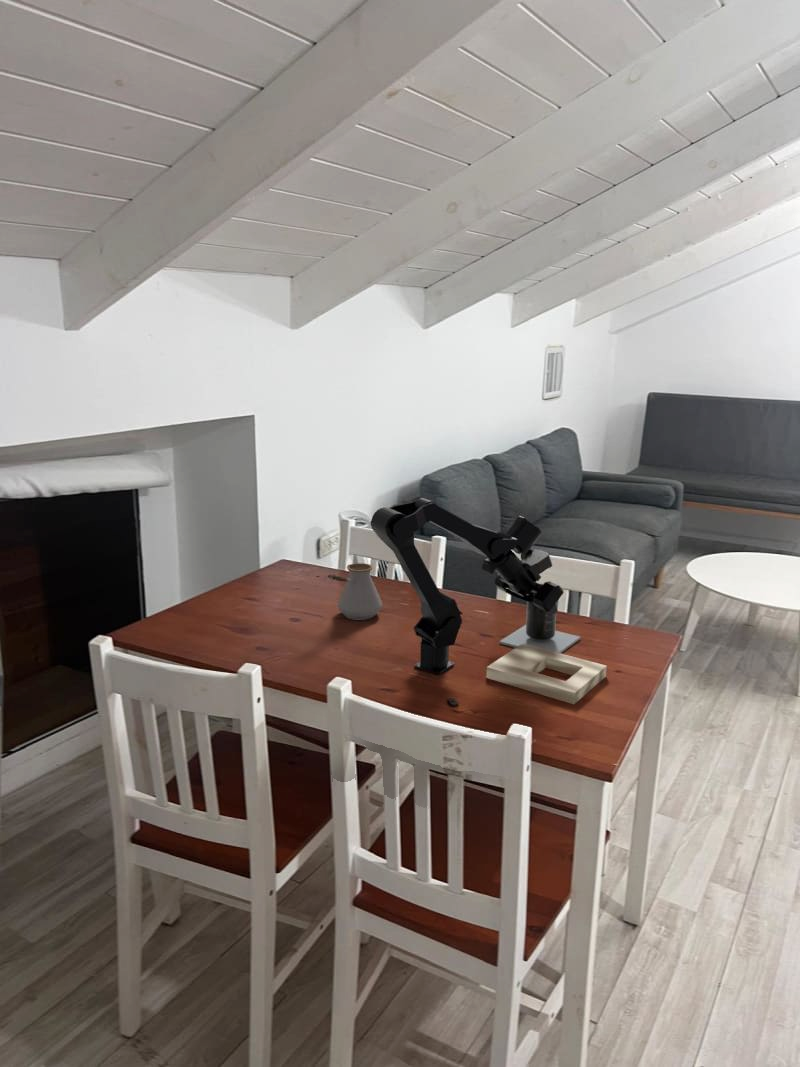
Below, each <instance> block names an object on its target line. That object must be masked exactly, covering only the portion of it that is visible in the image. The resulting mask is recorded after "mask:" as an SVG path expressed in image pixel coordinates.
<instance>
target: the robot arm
mask: <svg viewBox="0 0 800 1067" xmlns="http://www.w3.org/2000/svg"><path fill="white" fill-rule="evenodd" d="M427 523H431V524H434V525H435V526H437V527H439V528H441V529H443V530H445V531H447V532H448V533H450V534H452V535H454V536H456V537H457V538H459V539H460V540H461V541H462V542H463V543H464V544H465V545H466V546H467V547H468V548H470V550H471V551H472V552H475V553H477V554H479V555H482V556H484V557H486V559H483V560H482V564H481V570H482V571H483V572H485V573H487V574H490V575H492V574H494V572H496V573H497V574H498V575H497V576H496V578H495V579H494V586H496V588H497V589H498V590H500V591H502V592H504V593H506V594H507V595H510V596H512V597H514V598H517V599H519V600H523V601H524V602H527V600H528V598H529V597H530V596H532V592H533V593H535V596H534V597H533V604H534V605H535V607H537V608H539V609H541V610H544V611H546V612H550V613H553V614H556V615H557V612H558V607H556V604H555V603H556V602H557V603H558V601H559V600H560V598H561V597H562V596H563V594H564V593H565V592H564V589H563V588H562V587H561V586H560V585H559V584H557V583H554V582H552V581H549V580H548V581H545V582H544V583H538V582H539V580H541V578H542V576H541V574H542V573H543V572H545V571H546V570H548V569H551V568H552V567H553V563H552V560H551V557H550V554H549V553H548V552H547V551H545V550H542V549H535V548H534V549H531V548H532V546H534V545H535V544H536V542H537V541H538V539H539V538H540V537H541V536H542V534H543V533H542V530H541V529H540V527H537V526H536V525H534V524H533V523H532V522H530V521H529V520H528V519H526V517H524V516H521V515H519V516H517V518H515V520H514V523H513V524H512V525H511V526H510V528H509V529H508V530H507V531H506V533H503V532H500V531H495V530H492V529H488V528H487V527H483V526H479V525H477V524H472V523H470V522H468V521H467V520H465V519H463V518H461V517H459V516H458V515H456V514H454V513H452V512H451V511H449V510H447V509H445V508H443V507H441V506H440V505H438V504H437V503H436V502H435V501H433V500H429V499H426V498H423V497H421V498H417V499H414V500H413V501H409V502H405V503H400V504H394V505H393V506H389V507H384V506H383V507H380V508H379V509H377V510H376V511H375V512H374V513H373V515H372V517H371V521H370V527H371V529H372V531H373V532H374V533H375V534H376V536H377V537H378V538H379V539H380V540H381V541H382V542H383V543H384V545H386V546H387V547H388V548H389V549H390V550H391V551H392V552H393V554H394V555H395V558H397V561H398V563H399V564H400V566H401V568H402V570H403V572H404V573H405V576H407V579H408V580H409V582H410V584H411V586H412V587H413V588H412V589H414V591H415V593H416V595H417V596H418V599H419V601H420V612H421V615H422V616H421V618H420V619H419V620H418V622H417V623H416V624H415V626H413V631H414V633H415V636H417V637H419V638H420V639H421V642H420V645H419V646H420V652H419V654H420V657H419V658H420V659H419V661H418V662H417V663H415V664H414V666H413V667H414V668H416V669H419V670H422V671H425V672H428V673H431V674H433V675H434V674H435V675H440V674H442V673H443V672H445V671H447V670H448V669H450V668H451V667H453V666H454V665H455V662H453V661H450V660H449V655H450V653H449V651H450V646H454V645H455V643H456V640H457V636H458V634H459V631H460V628H461V626H462V624H463V618H462V616H461V615H463V611H461V610H460V609H459V606H458V603H457V602H456V599H454V597H453V598H452V597H451V596H449V595H447V594H445V593H443V592H441V591H440V590H439V588H438V586H437V584H436V582H435V580H434V579H433V576H432V575H431V573H430V571H429V570H428V568H427V566H426V564H425V562H424V561H423V559H422V557H421V555H420V553H419V551H418V549H417V547H416V545H415V532H417V531H419V530H420V529H421V528H422V527H424V526H425V525H426V524H427ZM516 554H518V555H520V558H519V557H518V556H517V555H516ZM541 584H543V585H541Z"/></svg>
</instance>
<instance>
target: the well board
mask: <svg viewBox="0 0 800 1067" xmlns="http://www.w3.org/2000/svg"><path fill="white" fill-rule="evenodd" d="M607 666H608V665H605V664H603V663H602V664H601V663H599V662H593V661H590V660H587V659H583V658H579V657H575V656H571V655H567V654H563V653H557V652H553V651H549V650H546V649H542V648H538V647H534V646H531V645H527V644H523V643H522V644H521V645H519V646H518V647H516V648H513V649H512V650H511V651H509V652H507V653H506V654H504V655H503V656H501V657H499V658H498V659H497V660H495V661H493V662H492V663H490V664H489V665H488V666H486V679H489V680H491V681H492V680H493V681H495V682H499V683H501V684H502V683H503V684H505V685H508V686H512V687H515V688H519V689H522V690H526V691H528V692H532V693H535V694H538V695H542V696H545V697H548V698H552V699H555V700H558V701H562V702H565V703H568V704H571V705H575V704H577V703H578V702H579V701H580V700H581V699H582V698H583V697H584V696H585V695H587V694H588V693H589V692H590V691H591V690H592V689H594V687H596V686H597V685H598V684H599V683H601V682H602V680H604V679H605V678H606V677H607ZM545 669H550V670H553V671H556V672H560V673H563V674H567V675H571V676H570V677H569V678H568V679H566V680H562V679H559V678H555V677H551V676H548V675H545V674H542V673H541V672H542V671H543V670H545Z"/></svg>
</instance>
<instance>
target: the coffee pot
mask: <svg viewBox="0 0 800 1067" xmlns="http://www.w3.org/2000/svg"><path fill="white" fill-rule="evenodd" d="M346 568H347V569H346V570H348V573H349V575H348V578H346V577H344V576H341V575H335V574H328V575H326V576H325V577H324V579H323V582H324V583H326V584H331V583H332V582H333V580H335V581H338V582H345V585H344V588H343V589H342V593H341V594H340V597H339V599H338V602H337V608H338V610H339V612H340V613H342V614H343V616H345V617H346V619H350V620H355V621H365V620H370V619H372V618H375V616H376V615H377V614H379V612H381V609H382V607H383V601H382V600H381V597H380V595H379V592H378V591H377V588H376V586H375V583H374V580H373V579H372V577H371V571H372V570H373V565H371V564H369V563H363V562H359V563H357V562H356V563H351V564H347V565H346ZM326 578H329V579H331V581H330V582H327V581H325V580H326Z"/></svg>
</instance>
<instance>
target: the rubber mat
mask: <svg viewBox="0 0 800 1067" xmlns="http://www.w3.org/2000/svg"><path fill="white" fill-rule="evenodd" d="M580 640H581V636H578V635H574V634H572V633H570V634H569V633H566V632H563V631H560V630H559V631H558V630H555V635H554V637H553V638H551V639H547V640H538V639H533V638H531V637H529V636H528V635H527V634H526V624H524V625H523V626H521V627H520V628H518V629H517V630H515V631H514V632H512V633H510V634H508V635H507V636H506V637H504V638H502V639H500V640H499V644H500V645H504V646H508V647H511V648H513V649H515V648H516V647H518V646H519V645H521V644H522V643H523V644H527V645H531V646H534V647H538V648H542V649H546V650H549V651H553V652H557V653H561V654H563V653H564V652H565V651H566V650H567V649H569V648H570V647H572V646H573V645H575V644H576V643H577V642H579V641H580Z"/></svg>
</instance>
